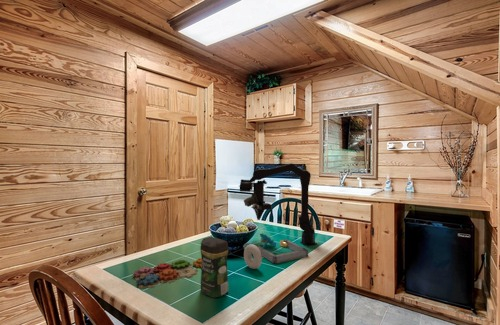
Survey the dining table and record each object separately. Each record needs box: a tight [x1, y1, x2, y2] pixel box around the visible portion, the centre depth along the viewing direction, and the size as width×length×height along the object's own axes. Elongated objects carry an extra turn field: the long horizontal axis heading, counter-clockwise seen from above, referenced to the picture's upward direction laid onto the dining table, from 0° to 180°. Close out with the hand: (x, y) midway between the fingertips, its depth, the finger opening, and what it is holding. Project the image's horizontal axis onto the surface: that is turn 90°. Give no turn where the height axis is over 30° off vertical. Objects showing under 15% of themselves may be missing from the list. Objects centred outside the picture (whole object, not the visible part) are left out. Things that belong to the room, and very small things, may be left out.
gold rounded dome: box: [279, 238, 292, 249], centre depth 139 cm, size 6×6×3 cm
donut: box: [243, 243, 263, 270], centre depth 110 cm, size 10×4×10 cm, turn 40°
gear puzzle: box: [132, 257, 202, 289], centre depth 107 cm, size 31×16×4 cm, turn 123°
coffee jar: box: [200, 235, 229, 299], centre depth 91 cm, size 10×8×19 cm
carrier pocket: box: [257, 240, 309, 265], centre depth 126 cm, size 19×16×3 cm
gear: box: [258, 233, 277, 249], centre depth 136 cm, size 11×6×10 cm
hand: (258, 219), depth 146 cm, fingers closed
